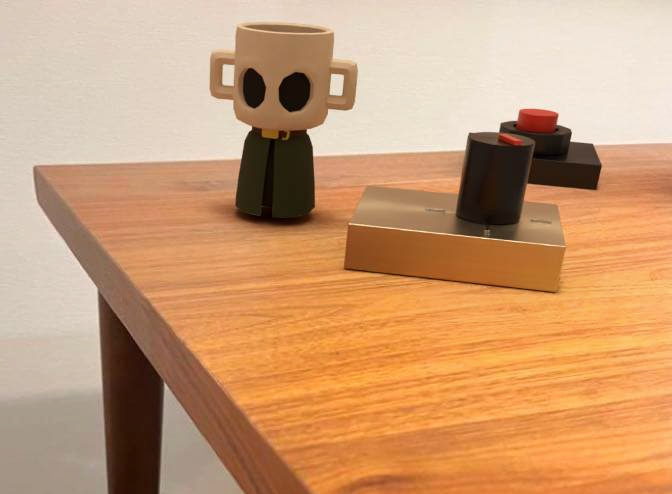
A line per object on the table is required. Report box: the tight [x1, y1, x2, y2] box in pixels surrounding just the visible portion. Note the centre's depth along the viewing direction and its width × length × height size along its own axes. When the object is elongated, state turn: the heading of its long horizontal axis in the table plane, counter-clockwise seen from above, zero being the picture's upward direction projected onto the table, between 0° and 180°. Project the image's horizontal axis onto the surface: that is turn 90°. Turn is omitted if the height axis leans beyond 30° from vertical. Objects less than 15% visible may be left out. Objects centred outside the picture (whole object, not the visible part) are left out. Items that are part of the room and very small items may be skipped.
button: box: [516, 108, 560, 132], centre depth 90 cm, size 4×4×2 cm
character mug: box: [209, 21, 359, 219], centre depth 72 cm, size 11×7×13 cm, turn 77°
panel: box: [343, 185, 567, 293], centre depth 68 cm, size 14×11×3 cm
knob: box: [456, 131, 535, 224], centre depth 65 cm, size 4×4×5 cm
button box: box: [468, 120, 603, 191], centre depth 91 cm, size 12×10×4 cm
